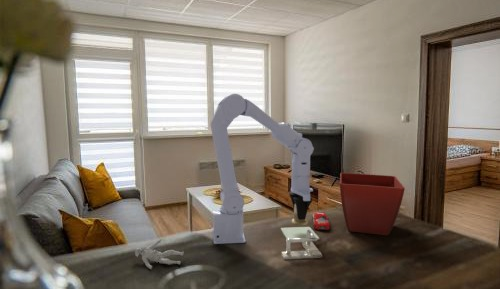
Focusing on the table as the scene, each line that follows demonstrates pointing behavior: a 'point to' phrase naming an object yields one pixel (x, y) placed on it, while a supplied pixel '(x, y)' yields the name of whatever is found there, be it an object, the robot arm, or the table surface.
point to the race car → (320, 221)
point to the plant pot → (370, 202)
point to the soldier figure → (157, 255)
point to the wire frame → (307, 244)
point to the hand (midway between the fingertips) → (299, 217)
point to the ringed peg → (296, 220)
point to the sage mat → (297, 232)
